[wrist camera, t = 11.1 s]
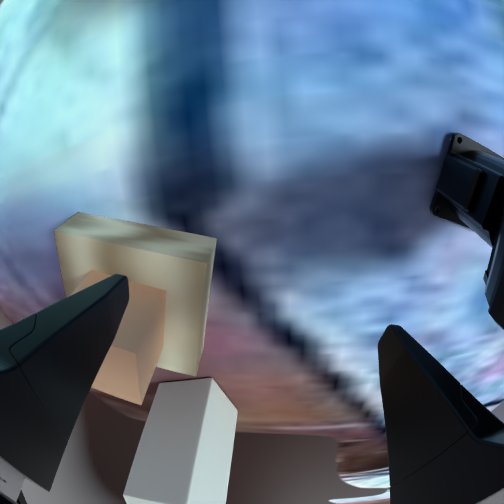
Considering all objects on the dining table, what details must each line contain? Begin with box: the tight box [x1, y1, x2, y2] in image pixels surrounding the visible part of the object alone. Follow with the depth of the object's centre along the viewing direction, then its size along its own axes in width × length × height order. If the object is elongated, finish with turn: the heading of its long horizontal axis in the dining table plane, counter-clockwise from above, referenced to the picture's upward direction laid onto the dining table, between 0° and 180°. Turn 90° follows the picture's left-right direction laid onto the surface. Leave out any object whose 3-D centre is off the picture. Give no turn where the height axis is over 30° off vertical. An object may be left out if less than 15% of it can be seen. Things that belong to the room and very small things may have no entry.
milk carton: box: [123, 378, 237, 504], centre depth 24 cm, size 7×7×19 cm
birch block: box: [54, 212, 217, 376], centre depth 23 cm, size 12×12×4 cm
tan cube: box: [70, 270, 166, 405], centre depth 19 cm, size 6×6×6 cm
